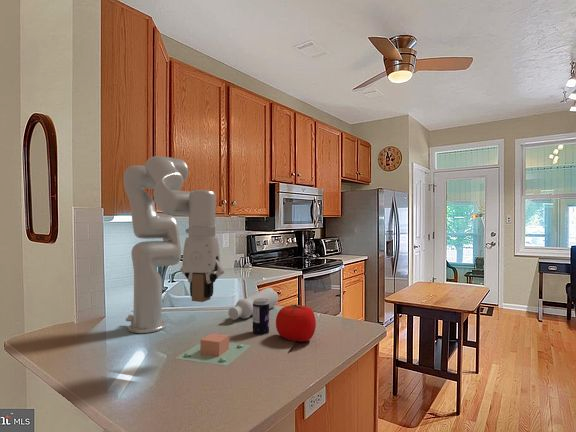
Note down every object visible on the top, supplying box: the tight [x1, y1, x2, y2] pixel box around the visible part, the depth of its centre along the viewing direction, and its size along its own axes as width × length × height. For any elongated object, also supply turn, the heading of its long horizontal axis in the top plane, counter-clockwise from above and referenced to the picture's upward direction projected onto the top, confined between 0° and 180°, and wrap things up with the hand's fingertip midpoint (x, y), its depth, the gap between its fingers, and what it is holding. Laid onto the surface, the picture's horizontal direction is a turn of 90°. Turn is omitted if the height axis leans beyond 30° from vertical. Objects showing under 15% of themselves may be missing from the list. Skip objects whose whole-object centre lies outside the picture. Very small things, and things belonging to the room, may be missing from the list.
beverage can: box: [252, 298, 270, 336], centre depth 118 cm, size 6×6×12 cm
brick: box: [199, 333, 230, 356], centre depth 99 cm, size 6×6×4 cm
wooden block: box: [191, 273, 212, 303], centre depth 98 cm, size 4×4×8 cm
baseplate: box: [174, 342, 252, 367], centre depth 99 cm, size 16×16×2 cm
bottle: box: [228, 287, 279, 320], centre depth 145 cm, size 9×9×30 cm
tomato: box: [275, 303, 317, 343], centre depth 113 cm, size 13×14×12 cm
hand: (201, 295), depth 98 cm, fingers closed on wooden block, 4 cm apart
